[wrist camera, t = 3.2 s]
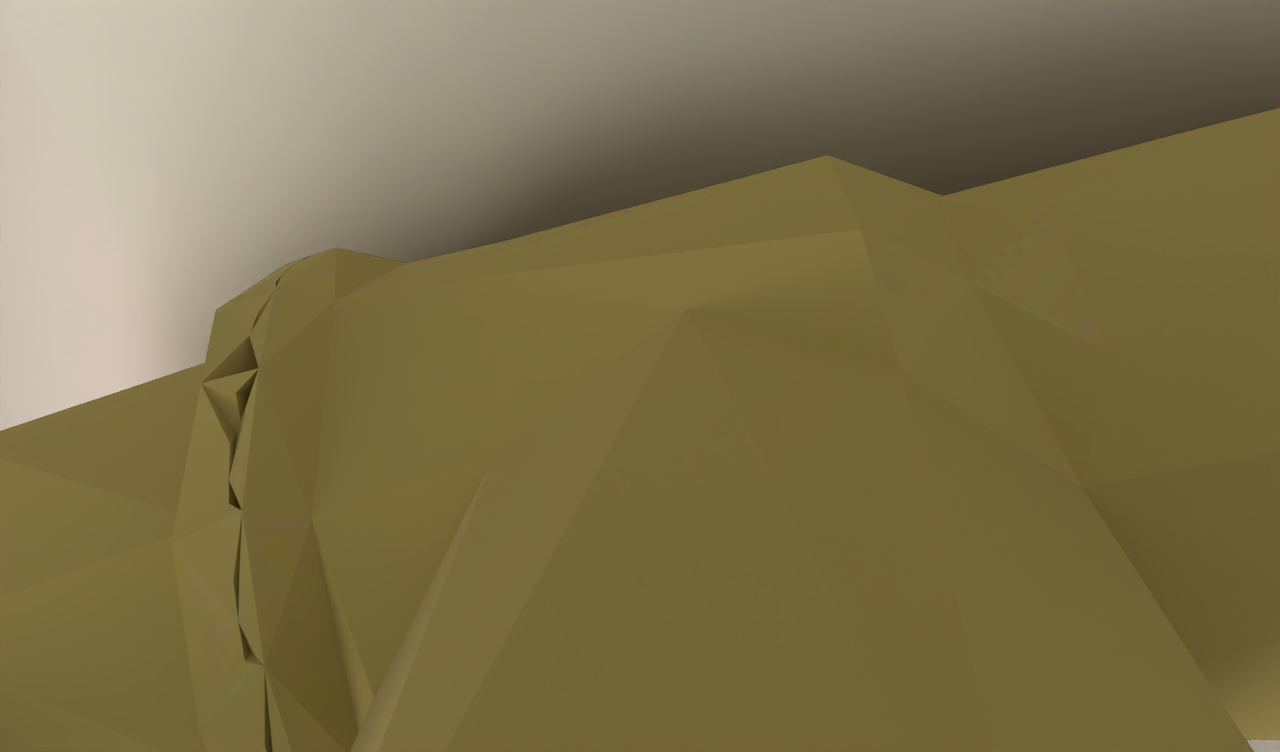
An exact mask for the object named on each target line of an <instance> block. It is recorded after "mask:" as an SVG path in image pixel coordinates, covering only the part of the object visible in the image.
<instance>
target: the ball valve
mask: <svg viewBox="0 0 1280 752" xmlns="http://www.w3.org/2000/svg"><path fill="white" fill-rule="evenodd" d="M1246 740H1280V108H1276V109H1273V110H1269V111H1265V112H1261V113H1257V114H1253V115H1249V116H1245V117H1241V118H1237V119H1233V120H1230V121H1226V122H1222V123H1218V124H1214V125H1210V126H1206V127H1202V128H1198V129H1194V130H1191V131H1187V132H1183V133H1179V134H1175V135H1171V136H1168V137H1164V138H1160V139H1156V140H1152V141H1149V142H1145V143H1141V144H1137V145H1134V146H1130V147H1126V148H1122V149H1118V150H1115V151H1111V152H1107V153H1103V154H1099V155H1096V156H1092V157H1088V158H1084V159H1081V160H1077V161H1073V162H1069V163H1065V164H1062V165H1058V166H1054V167H1050V168H1046V169H1043V170H1039V171H1035V172H1031V173H1028V174H1024V175H1020V176H1016V177H1012V178H1009V179H1005V180H1001V181H997V182H993V183H990V184H986V185H982V186H978V187H975V188H971V189H967V190H963V191H959V192H956V193H952V194H948V195H944V196H942V195H939V194H936V193H934V192H931V191H928V190H925V189H922V188H920V187H917V186H914V185H911V184H908V183H905V182H903V181H900V180H897V179H894V178H891V177H889V176H886V175H883V174H880V173H877V172H875V171H872V170H869V169H866V168H863V167H861V166H858V165H855V164H852V163H849V162H846V161H844V160H841V159H838V158H835V157H832V156H830V155H825V156H821V157H817V158H814V159H810V160H806V161H802V162H799V163H795V164H791V165H787V166H784V167H780V168H776V169H772V170H769V171H765V172H761V173H757V174H754V175H750V176H746V177H742V178H739V179H735V180H731V181H727V182H724V183H720V184H716V185H712V186H709V187H705V188H701V189H697V190H694V191H690V192H686V193H682V194H679V195H675V196H671V197H667V198H664V199H660V200H656V201H652V202H649V203H645V204H641V205H637V206H634V207H630V208H626V209H622V210H619V211H615V212H611V213H607V214H604V215H600V216H596V217H592V218H589V219H585V220H581V221H577V222H574V223H570V224H566V225H562V226H559V227H555V228H551V229H547V230H544V231H540V232H536V233H532V234H528V235H525V236H521V237H517V238H513V239H510V240H506V241H502V242H497V243H493V244H488V245H484V246H480V247H475V248H471V249H466V250H462V251H457V252H453V253H449V254H444V255H440V256H435V257H431V258H426V259H422V260H418V261H413V262H409V263H403V262H399V261H394V260H390V259H385V258H380V257H376V256H371V255H367V254H362V253H357V252H353V251H348V250H344V249H339V248H334V249H331V250H328V251H325V252H322V253H319V254H316V255H313V256H310V257H306V258H303V259H300V260H297V261H294V262H292V263H289V264H286V265H284V266H283V267H281V268H280V269H278V270H277V271H275V272H274V273H272V274H271V275H269V276H268V277H266V278H264V279H263V280H261V281H260V282H258V283H257V284H255V285H254V286H252V287H251V288H249V289H248V290H246V291H244V292H243V293H241V294H240V295H238V296H237V297H235V298H234V299H232V300H231V301H229V302H228V303H226V304H224V305H223V306H221V307H220V308H218V309H217V310H216V313H215V318H214V323H213V328H212V333H211V337H210V342H209V347H208V352H207V356H206V361H205V363H203V364H200V365H197V366H194V367H191V368H188V369H185V370H182V371H179V372H176V373H173V374H170V375H167V376H164V377H161V378H158V379H155V380H152V381H149V382H146V383H143V384H140V385H137V386H134V387H131V388H128V389H125V390H122V391H119V392H116V393H113V394H110V395H107V396H104V397H101V398H98V399H95V400H92V401H89V402H86V403H83V404H80V405H77V406H74V407H71V408H68V409H65V410H62V411H59V412H56V413H53V414H50V415H47V416H44V417H41V418H38V419H35V420H32V421H29V422H26V423H23V424H20V425H17V426H14V427H11V428H8V429H5V430H2V431H0V752H1254V751H1253V750H1252V748H1251V747H1250V745H1249V744H1248V742H1247V741H1246Z"/></svg>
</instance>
